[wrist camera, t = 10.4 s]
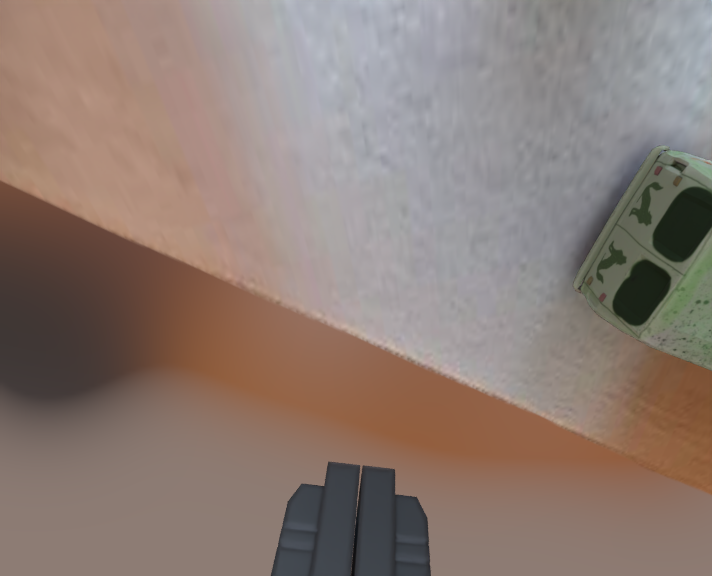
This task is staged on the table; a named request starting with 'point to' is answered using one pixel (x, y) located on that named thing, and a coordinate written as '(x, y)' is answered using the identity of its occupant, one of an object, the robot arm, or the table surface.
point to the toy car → (658, 258)
